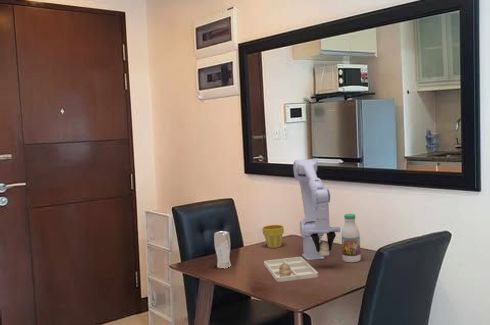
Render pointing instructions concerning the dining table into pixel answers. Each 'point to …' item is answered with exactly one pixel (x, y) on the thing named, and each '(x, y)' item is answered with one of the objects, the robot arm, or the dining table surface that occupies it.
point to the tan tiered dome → (284, 270)
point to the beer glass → (222, 248)
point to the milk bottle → (350, 240)
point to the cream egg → (324, 248)
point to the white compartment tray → (297, 266)
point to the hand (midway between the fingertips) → (323, 250)
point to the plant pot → (273, 235)
